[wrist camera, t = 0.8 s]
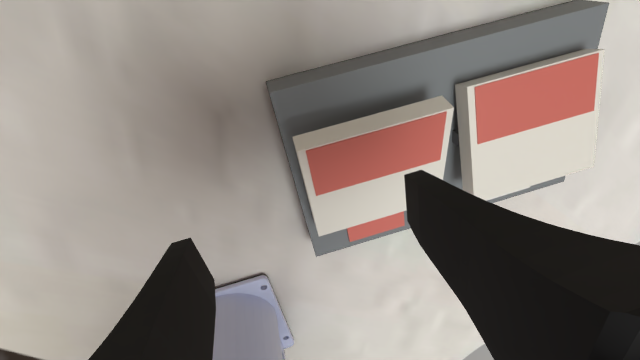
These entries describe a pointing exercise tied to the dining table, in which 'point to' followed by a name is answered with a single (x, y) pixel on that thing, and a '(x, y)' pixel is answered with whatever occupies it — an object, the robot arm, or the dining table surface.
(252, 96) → the dining table surface
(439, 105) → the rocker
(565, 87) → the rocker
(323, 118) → the switch panel
